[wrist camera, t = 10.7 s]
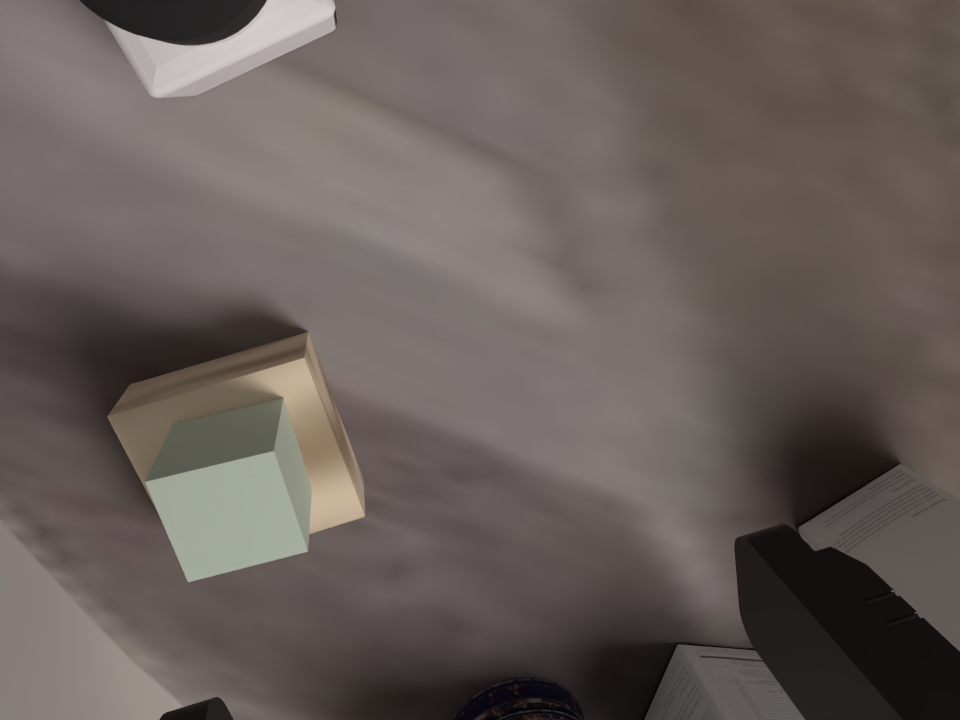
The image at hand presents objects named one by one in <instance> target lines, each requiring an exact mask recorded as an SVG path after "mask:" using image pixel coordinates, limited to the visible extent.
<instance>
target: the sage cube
mask: <svg viewBox="0 0 960 720" xmlns="http://www.w3.org/2000/svg"><path fill="white" fill-rule="evenodd" d="M145 483H146V486H147V488H148V490H149V493H150V495H151V497H152V500H153V502H154V504H155V507H156V509H157V511H158V513H159V516H160V518H161V520H162V523H163V525H164V527H165V530H166V532H167V534H168V537H169V539H170V541H171V544H172V546H173V548H174V550H175V553H176V555H177V557H178V560H179V562H180V564H181V567H182V569H183V571H184V574H185V576H186V578H187V581H188V582H191V581H195V580H199V579H203V578H207V577H210V576H214V575H218V574H222V573H226V572H230V571H234V570H238V569H242V568H246V567H249V566H253V565H257V564H261V563H265V562H269V561H273V560H277V559H281V558H285V557H288V556H292V555H296V554H300V553H304V552H308V542H309V527H310V513H311V498H312V486H311V483H310V480H309V477H308V474H307V470H306V467H305V464H304V461H303V458H302V455H301V452H300V449H299V445H298V442H297V439H296V436H295V433H294V430H293V427H292V424H291V420H290V417H289V414H288V411H287V408H286V405H285V402H284V399H283V398H281V399H277V400H273V401H268V402H264V403H260V404H256V405H251V406H247V407H243V408H238V409H234V410H230V411H226V412H221V413H217V414H213V415H208V416H204V417H200V418H196V419H191V420H187V421H183V422H178V423H174V424H173V425H172V427H171V429H170V431H169V433H168V435H167V437H166V439H165V441H164V444H163V446H162V448H161V450H160V452H159V454H158V456H157V458H156V460H155V462H154V464H153V466H152V468H151V470H150V472H149V475H148V477H147V479H146V481H145Z"/></svg>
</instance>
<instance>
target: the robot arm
mask: <svg viewBox="0 0 960 720" xmlns="http://www.w3.org/2000/svg"><path fill="white" fill-rule="evenodd" d="M735 560H736V573H737V585H738V597H739V609H740V615H741V619H742V623H743V625H744V628H745V631H746V633H747V635H748V638H749V640H750V642H751V644H752V645H753V647H754V649H755V650H756V652H757V653H758V655H759V656H760V658H761V659H762V660H763V662H764V663H765V665H766V666H767V667H768V669H769V670H770V672H771V673H772V674H773V676H774V677H775V679H776V680H777V681H778V683H779V684H780V685H781V687H782V688H783V690H784V691H785V692H786V694H787V695H788V697H789V698H790V699H791V701H792V702H793V704H794V705H795V706H796V708H797V709H798V711H799V712H800V713H801V715H802V716H803V718H804V719H805V720H960V651H959V650H958V649H956V648H955V647H954V646H953V645H952V644H951V643H950V642H949V641H948V640H947V639H946V638H945V637H944V636H943V635H942V634H940V633H939V632H938V631H937V630H936V629H935V628H934V627H933V626H932V625H931V624H930V623H929V622H928V621H927V620H926V619H924V618H920V617H919V616H918V613H917V611H916V610H915V609H914V608H913V607H912V606H911V605H910V604H908V603H907V602H906V601H905V600H904V599H903V598H902V597H901V596H900V595H899V596H897V595H896V594H895V592H894V589H892V588H891V587H890V586H889V585H888V584H887V583H886V582H885V581H884V580H883V579H882V578H881V577H880V576H879V575H878V574H876V573H875V572H874V571H873V570H872V569H871V568H870V567H869V566H868V565H867V564H865V563H863V562H861V561H859V560H857V559H855V558H853V557H851V556H849V555H847V554H845V553H843V552H841V551H839V550H837V549H835V548H833V547H831V546H830V547H827V548H824V549H821V550H818V551H814V550H813V549H812V548H811V547H810V546H809V545H808V544H807V543H806V542H805V541H804V540H803V539H802V538H801V537H800V536H799V535H798V534H797V533H796V532H795V531H794V530H793V529H792V528H791V527H789V526H788V525H786V524H779V525H776V526H773V527H770V528H767V529H763V530H760V531H757V532H754V533H750V534H747V535H744V536H741V537H738V538H737V539H736V540H735ZM160 720H233V718H232V716H231V714H230V712H229V710H228V709H227V707H226V705H225V703H224V702H223V701H222V699H220V698H218V697H215V698H212V699H208V700H205V701H202V702H199V703H196V704H192V705H189V706H186V707H183V708H180V709H176V710H173V711H170V712H167V713H165V714H163V715H162V717H161V718H160Z"/></svg>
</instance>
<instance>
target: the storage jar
mask: <svg viewBox="0 0 960 720" xmlns="http://www.w3.org/2000/svg"><path fill="white" fill-rule="evenodd" d="M451 720H584V716H583V713H582V710H581V707H580V705H579V703H578V701H577V699H576V698H575V697H574V695H573V694H572V693H571V692H570V691H569V690H567V689H566V688H564V687H563V686H561V685H559V684H557V683H555V682H552V681H548V680H545V679H537V678H520V679H512V680H508V681H504V682H500V683H498V684H495V685H492V686H490V687H488V688H486V689H484V690H482V691H480V692H479V693H477V694H476V695H474V696H473V697H471V698H470V699H469V700H468V701H466V702H465V703H464V704H463V705H462V706H461V707H460V708H459V710H458V711H457V712H456V713H455V715H454V716H453V718H452V719H451Z"/></svg>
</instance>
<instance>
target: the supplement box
mask: <svg viewBox="0 0 960 720" xmlns="http://www.w3.org/2000/svg"><path fill="white" fill-rule="evenodd" d="M644 720H805V719H804V718H803V716H802V715H801V713H800V712H799V711H798V709H797V708H796V706H795V705H794V704H793V702H792V701H791V699H790V698H789V697H788V695H787V694H786V692H785V691H784V690H783V688H782V687H781V685H780V684H779V683H778V681H777V680H776V679H775V677H774V676H773V674H772V673H771V672H770V670H769V669H768V667H767V666H766V665H765V663H764V662H763V660H762V659H761V658H760V656H759V655H758V653H757V652H756V651H754V650H742V649H730V648H717V647H705V646H693V645H681V644H679V645H677V647H676V649H675V651H674V653H673V656H672V658H671V660H670V662H669V665H668V667H667V669H666V671H665V674H664V676H663V678H662V681H661V683H660V685H659V687H658V690H657V692H656V694H655V696H654V699H653V701H652V703H651V705H650V708H649V710H648V712H647V714H646V717H645V719H644Z"/></svg>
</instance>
